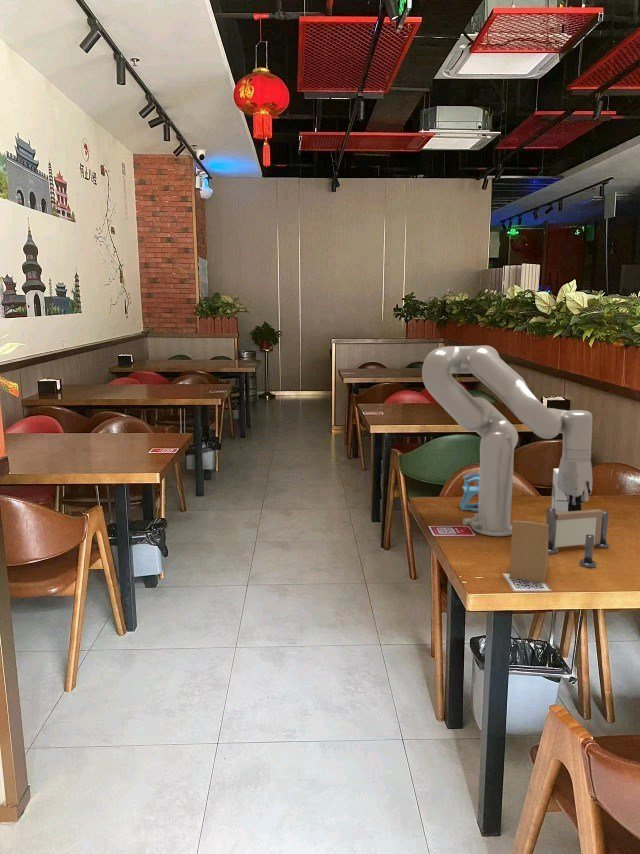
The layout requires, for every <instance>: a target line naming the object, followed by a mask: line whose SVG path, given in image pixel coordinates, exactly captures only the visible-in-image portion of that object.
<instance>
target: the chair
mask: <svg viewBox="0 0 640 854" xmlns="http://www.w3.org/2000/svg"><path fill="white" fill-rule="evenodd" d="M462 478H463V480H464V483H463V485H462V486H461V487H462V490H463V494H462V498H461V501H460V505H459V508H460V511H467V510H472V511H471V512H477V511H478V503H479V502H478V503H477V502H475V503H469V502H470V500H471V499H472V498H473V497H474V496H475V495H479V483H480V473H473V472H472V473H470V474H468V475H465V476H462ZM473 482H477V483H478V485H470V483H473ZM475 506H477V507H475Z"/></svg>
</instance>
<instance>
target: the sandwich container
mask: <svg viewBox="0 0 640 854" xmlns="http://www.w3.org/2000/svg"><path fill="white" fill-rule="evenodd" d="M511 524H512V535H511V540H510V541H511V542H510V543H511V544H510V561H509V562H510V563H509V565H510V566H509V578H510V579H516V580H523V581H526V582H527V581H528V582H534V583H540V582H541V584H544V583H545V581H546V578H547V574H548V567H549V554H548V531H549V525H548V524H546V523H540V522H534V521H525V520H524V521H523V520H515V519H514V520H512V522H511Z"/></svg>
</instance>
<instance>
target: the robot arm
mask: <svg viewBox="0 0 640 854" xmlns="http://www.w3.org/2000/svg"><path fill="white" fill-rule="evenodd" d="M453 374H472V375H474V377H476V378H477V379H478V380H479V381H480V382H481V383H483V384H484V385H485V386H486V387H487V388H488V389H489V390H490V391H491V392H492V393H493V394H495V395H496V396H497V397H498V398H499V399H500V401H502V402H503V404H504V405H505V406H506V407H507V408H508V409H509V410H510V411H511V413H513V415H514V416H515V417H516V418H517V419H518V420H519V421H520V422H521V423H522V424H523V425H524V426H525V427H527V428H528V429H529V430H530V431H531V432H533V434H534V435H536V436H537V437H539V438H541V439H544V440H549V439H550V440H551V439H553V438H556V437H557V436H558V435H559V434H562V453H561V454H562V455H561V457H560V461H559V466H558V468H559V472H558V489H559V490H560V491H562V492H563V493H564V494H565V495H566V497H567V502H568V511H581V510H582V505H583V504H584V502H589V500H590V498H589V497H590V495H592V491H593V469H592V461H591V460H592V442H593V441H592V439H593V437H592V436H593V414H592V413H591V412H590V411H588V410H583V409H581V410H580V409H572V410H571V409H570V410H566V409H558V408H553V407H552V408H551V407H546V405H544V404H543V403H542V402H541V401H540V400H539V399H538V398H537V397H536V395H534V393H533V392H532V391H531V390H530V388H529V387H528V384H527V382H526V381H525V379H524V378H523V377H522V376H521V375H520V374H519V373H518V372H516V371H515V370H514V369H513V368H512V367H511V366H510V365H509V364H507V363H506V362H505V361H504V360H503V359H501V357H500V355H499V353H498V351H497V350H496V348H494V347H493V346H490V345H487V344H486V345H463V346H462V345H461V346H460V345H457V346H456V345H454V346H453V345H451V346H449V345H448V346H443V347H438V348H434V349H433V350H431V351H430V352H429V353H428V354H427V355H426V358H425V359H424V362H423V364H422V370H421V378H422V381H423V382H422V383H423V384H424V387H425V388H426V390H427V392H428V393H429V394H430V395H431V396H432V397H433V399H434V400H435V401H436V402H437V403H438V404H439V406H441V407H442V408H443V409H444V410H445V412H447V414H448V415H450V416H451V418H453V419H454V421H455V422H456V423H457V425H459V426H460V427H461V428H462V429H463V430H464V431H466V432H467V431H468V432H471V433H473V432H476V434H478V435H479V436H480V442H479V474H480V483H479V494H478V506H477V508H478V512H477V513H474V516H472V517H471V518H470V517H467V518H465V517H464V518H462V525H463V526H466V525H470V526H471V529H472V530H473V531H474V532H476V533H479V534H481V535H483V536H484V535H485V536H491V537H507V536H512V523H511V514H512V513H511V512H512V501H513V500H512V496H513V481H514V480H513V479H514V457H515V455H514V454H515V448H516V447H517V444H518V442H519V434H518V431H517V428H516V427H515V426H514V425H513V423H511V422H510V421H509V420H508V419H507V418H506V416H504V415H503V414H502V413H501V412H500V411H499V410H498V409H497V407H495V406H494V405H493V404H492V403H491V402H489V401H488V400H487V399H485V398H483V397H478V396H473V395H472V394H471V393H470V392H469V391H468V390H466V388H465V387H464V386H463V385H462V384H460V383H459V382H458V381H457V380H456V379H455V378H454V377H453Z"/></svg>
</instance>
